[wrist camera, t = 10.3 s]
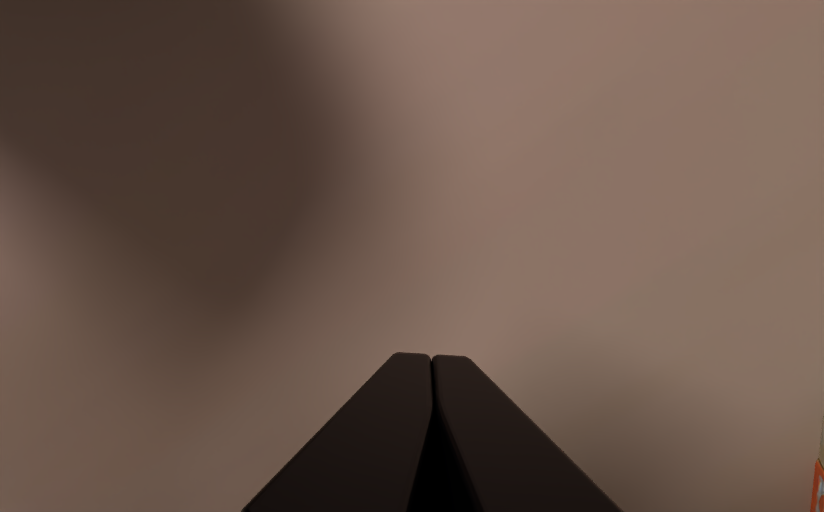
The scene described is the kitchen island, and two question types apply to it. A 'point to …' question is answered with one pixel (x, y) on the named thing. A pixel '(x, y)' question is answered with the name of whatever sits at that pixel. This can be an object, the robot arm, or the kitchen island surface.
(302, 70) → the kitchen island surface
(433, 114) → the kitchen island surface
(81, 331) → the kitchen island surface
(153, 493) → the kitchen island surface
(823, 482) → the stack of blocks
